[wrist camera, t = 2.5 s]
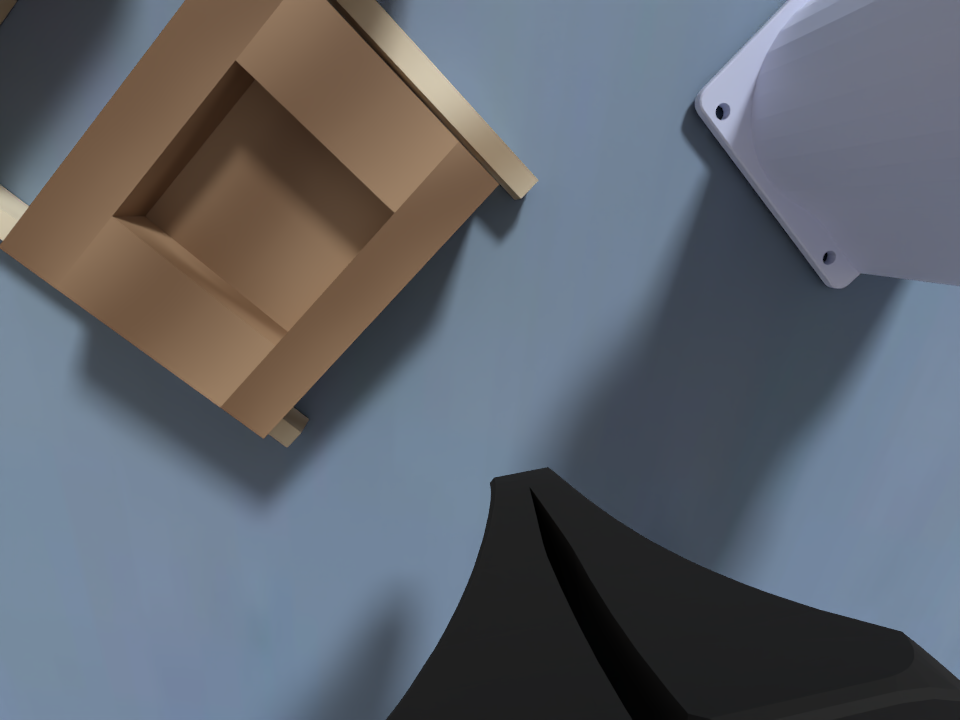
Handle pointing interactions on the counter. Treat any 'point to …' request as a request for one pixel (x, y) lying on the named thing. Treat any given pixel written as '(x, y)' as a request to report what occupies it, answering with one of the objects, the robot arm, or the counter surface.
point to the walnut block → (250, 201)
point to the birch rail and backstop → (425, 82)
